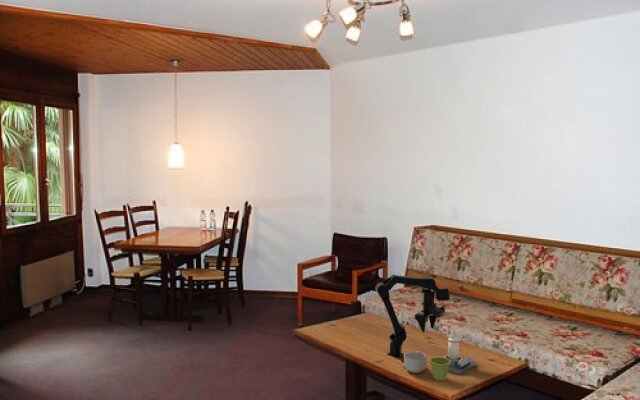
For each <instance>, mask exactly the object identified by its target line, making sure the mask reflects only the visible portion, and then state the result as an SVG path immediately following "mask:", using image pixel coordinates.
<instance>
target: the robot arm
mask: <svg viewBox="0 0 640 400" xmlns="http://www.w3.org/2000/svg"><path fill="white" fill-rule="evenodd" d="M397 284H401V285H410V286H418V287H421V289H420V290H419V292H420V293H421V294H422V295H423V296H422V297H423V298H422V302H421V305H422V309H421V310H420V311H421V312H417V313H415V315H414V320H415V321H416V322H417V324H418V325H419V327H420V329H421V332H422V333H425V331H426V325H427V323H428V321H429V324H430V325H429V326H430V328H431V329H434V327H435V325H436V322H437V319H440V318H443V317H444V315H445V314H446V307H445V306H443V305H442V306H437V303H436V302H435V300H436V301H437V302H449V301H450V297H451V295H450V293H449V288H447V287H440V288H439V287H438V286H437V282H436V280H435V279H434V278H432V277H431V276H429V275H427V276H425V275H424V276H420V277H418V276H417V277H415V276H408V275H407V276H406V275H398V274H391V275H390V276H389V277H387V278H385V279H384V280H382V281H381V282H378V283H376V285H375V286H374V287H375V291H376V293H377V294H378V296H379V297H380V299H381V301H382V303H383V305H384V308H385V310H386V314H387V315H388V318H389V320H390V324H391V331H392V333H391V334H390V335H389V336H388V339H389V342H390V343H389V352H387V355H388V356H392V357H394V358H400V357H401V356H404V354H405V353H403V352H402V346H403V343H404V342H405V341H406V339H407V334H408V333H407V331H406V329H405V326H404V324H403V323H400V322H399V319H398V317H397V315H396V311H395V310H394V307H393V304H392V302H391V296H390V291H391V290H392V289H393V288H394V286H396V285H397Z"/></svg>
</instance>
